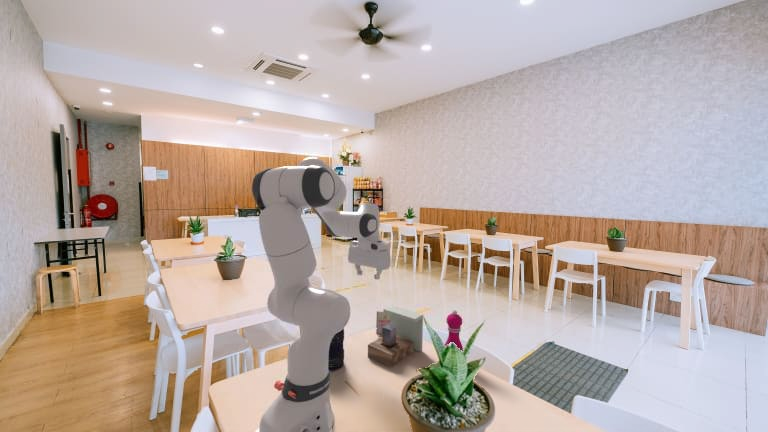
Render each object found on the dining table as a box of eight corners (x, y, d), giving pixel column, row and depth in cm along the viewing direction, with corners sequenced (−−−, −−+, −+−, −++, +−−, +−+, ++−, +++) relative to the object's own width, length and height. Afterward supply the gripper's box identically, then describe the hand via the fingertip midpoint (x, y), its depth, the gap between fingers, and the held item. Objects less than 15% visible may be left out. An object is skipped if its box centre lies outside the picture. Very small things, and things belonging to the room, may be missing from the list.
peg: (390, 359, 122) (390, 330, 121) (382, 356, 124) (382, 327, 123) (396, 355, 125) (396, 326, 124) (388, 352, 127) (388, 323, 126)
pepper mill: (464, 365, 118) (466, 314, 117) (445, 365, 118) (447, 313, 117) (460, 355, 125) (461, 307, 124) (442, 355, 126) (443, 306, 124)
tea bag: (376, 330, 147) (377, 309, 147) (391, 331, 147) (391, 310, 146) (376, 334, 144) (376, 312, 143) (390, 334, 143) (391, 313, 143)
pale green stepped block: (414, 356, 124) (414, 319, 123) (383, 344, 134) (383, 309, 133) (422, 351, 129) (423, 314, 127) (391, 339, 139) (392, 305, 138)
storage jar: (313, 369, 114) (313, 330, 113) (323, 356, 124) (323, 319, 123) (339, 373, 112) (339, 332, 111) (347, 358, 122) (347, 321, 121)
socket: (391, 367, 116) (391, 354, 116) (367, 356, 124) (367, 344, 123) (412, 353, 127) (413, 341, 126) (389, 343, 134) (389, 332, 134)
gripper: (344, 241, 129) (344, 273, 130) (382, 246, 116) (382, 283, 117) (355, 239, 133) (355, 271, 134) (393, 244, 121) (392, 279, 122)
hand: (368, 276), depth 125 cm, fingers open, 8 cm apart
